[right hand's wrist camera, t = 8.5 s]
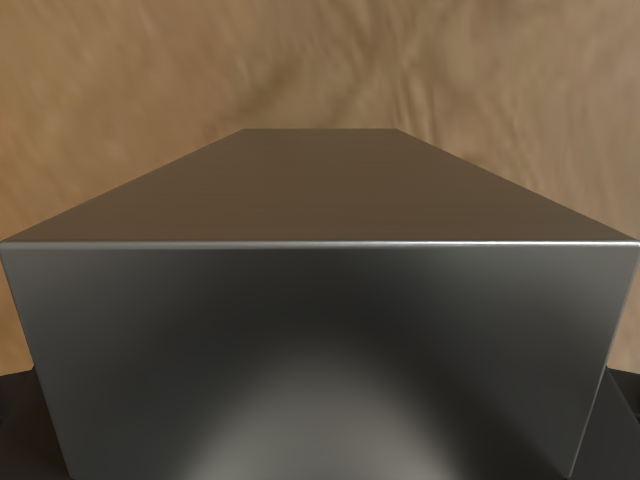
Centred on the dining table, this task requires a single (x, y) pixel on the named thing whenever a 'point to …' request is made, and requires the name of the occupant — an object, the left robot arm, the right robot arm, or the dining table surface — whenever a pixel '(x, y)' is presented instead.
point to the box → (320, 316)
